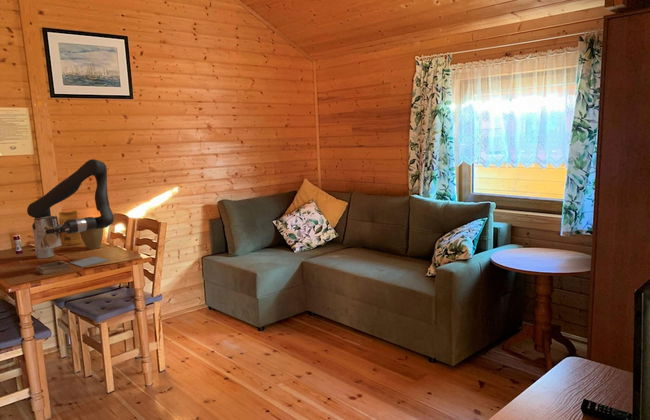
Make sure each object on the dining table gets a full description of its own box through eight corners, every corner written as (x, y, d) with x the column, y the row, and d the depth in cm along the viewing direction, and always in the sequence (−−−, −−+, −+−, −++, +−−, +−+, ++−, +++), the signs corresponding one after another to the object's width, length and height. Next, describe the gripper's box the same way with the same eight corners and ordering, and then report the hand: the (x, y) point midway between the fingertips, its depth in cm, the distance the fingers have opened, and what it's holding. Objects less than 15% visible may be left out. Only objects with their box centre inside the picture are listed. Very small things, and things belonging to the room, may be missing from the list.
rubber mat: (69, 263, 275) (69, 262, 275) (96, 257, 287) (95, 256, 286) (81, 267, 266) (81, 266, 266) (108, 261, 277) (108, 259, 277)
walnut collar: (36, 271, 260) (35, 266, 260) (61, 266, 270) (61, 260, 269) (43, 274, 254) (42, 269, 253) (69, 268, 264) (69, 263, 263)
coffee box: (55, 244, 265) (51, 215, 263) (62, 245, 262) (58, 216, 259) (38, 248, 258) (33, 218, 255) (44, 249, 254) (40, 219, 252)
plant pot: (100, 244, 321) (97, 220, 318) (110, 247, 310) (107, 222, 308) (76, 249, 310) (73, 224, 308) (85, 252, 300) (82, 226, 297)
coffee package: (60, 244, 327) (56, 211, 323) (81, 241, 332) (77, 209, 329) (60, 246, 318) (56, 213, 314) (81, 244, 324) (77, 211, 320)
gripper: (69, 217, 273) (36, 222, 261) (80, 220, 264) (47, 225, 251) (70, 231, 274) (38, 236, 262) (82, 233, 265) (49, 240, 253)
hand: (43, 231), depth 257 cm, fingers closed on coffee box, 7 cm apart
